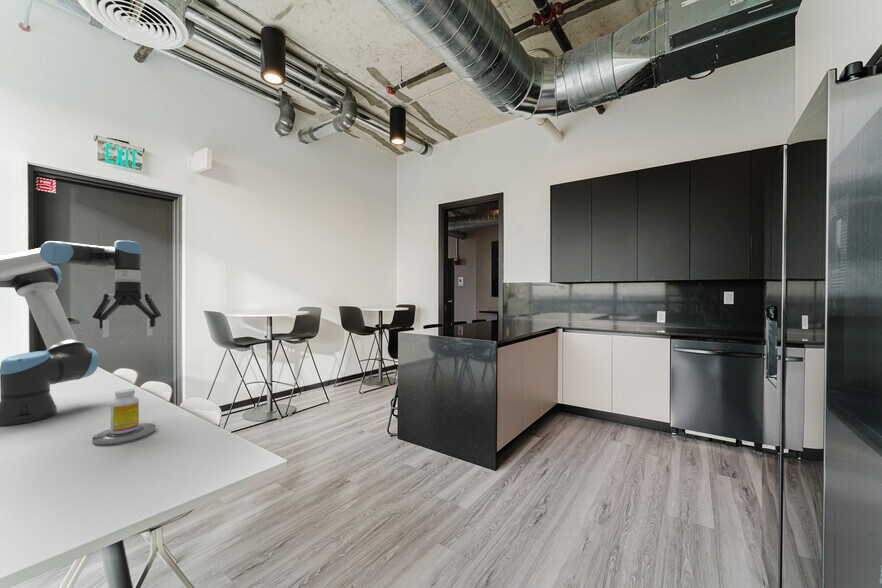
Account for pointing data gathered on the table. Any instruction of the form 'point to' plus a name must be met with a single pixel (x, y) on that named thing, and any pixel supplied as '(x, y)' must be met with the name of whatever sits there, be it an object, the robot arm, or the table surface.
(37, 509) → the table surface
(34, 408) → the robot arm
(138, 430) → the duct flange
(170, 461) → the table surface
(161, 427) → the table surface
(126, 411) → the supplement bottle
